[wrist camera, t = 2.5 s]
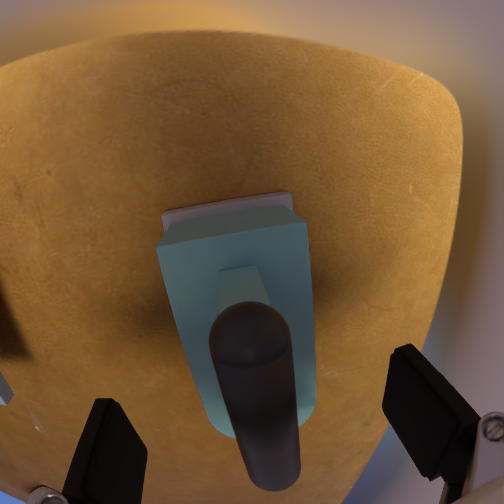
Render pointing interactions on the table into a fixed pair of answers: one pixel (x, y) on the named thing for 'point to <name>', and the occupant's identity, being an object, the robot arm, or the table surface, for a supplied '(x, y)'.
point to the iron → (246, 323)
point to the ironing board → (5, 391)
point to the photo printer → (38, 494)
